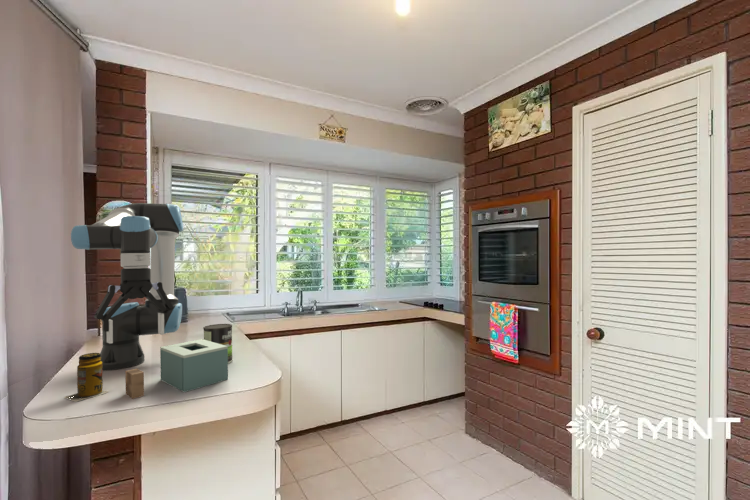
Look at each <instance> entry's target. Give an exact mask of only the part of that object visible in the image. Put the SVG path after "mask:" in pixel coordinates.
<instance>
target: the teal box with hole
mask: <svg viewBox="0 0 750 500" xmlns="http://www.w3.org/2000/svg"><path fill="white" fill-rule="evenodd" d="M159 353H160V355H159V357H160V381H161V382H163V383H166V384H167V385H170V386H172V387H173V388H175V389H177V390H179V391H181V392H183V393H185V392H190V391H192V390H197V389H199V388H203V386H204V387H207V386H210V385H214V384H217V383H220V382H224V381H227V379H228V380H229V364H228V346H225V345H222V344H218V343H214V342H211V341H207V340H204V338H202V339H196V340H190V341H185V342H181V343H180V342H179V343H175V344H169V345H164V346H160V351H159Z"/></svg>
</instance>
